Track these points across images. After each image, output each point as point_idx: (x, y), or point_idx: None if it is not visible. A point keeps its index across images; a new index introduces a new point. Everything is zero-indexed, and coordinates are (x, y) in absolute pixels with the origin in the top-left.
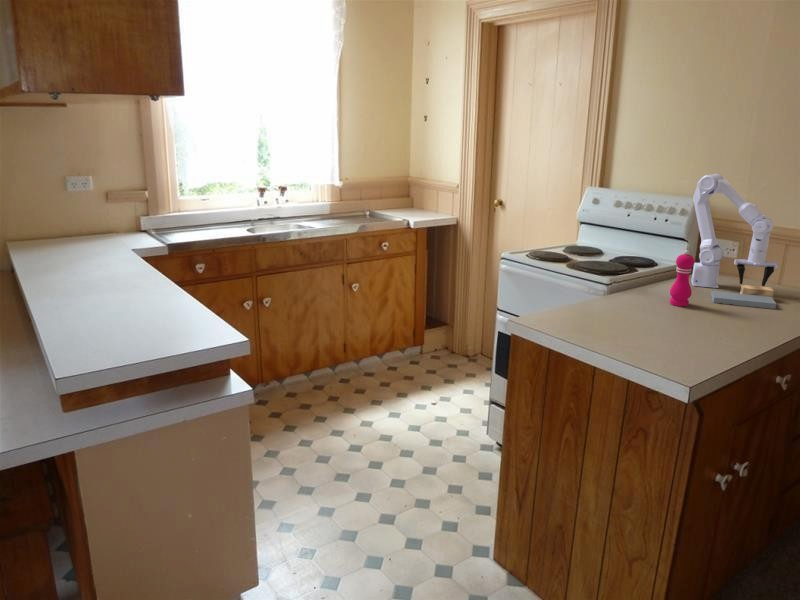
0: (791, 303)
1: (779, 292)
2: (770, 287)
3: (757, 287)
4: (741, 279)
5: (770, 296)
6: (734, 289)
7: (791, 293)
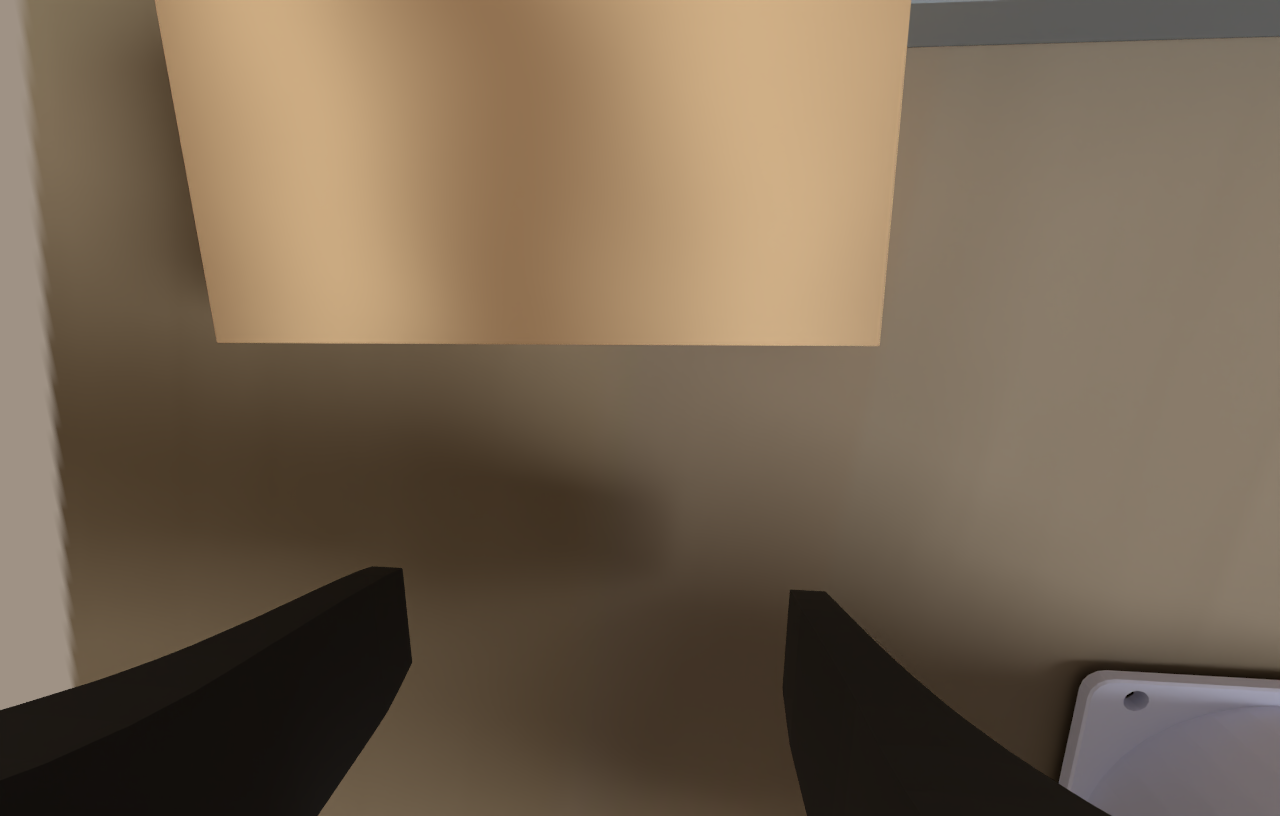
0: (56, 110)
1: None
2: (233, 327)
3: (519, 193)
4: (855, 637)
5: None
6: None
7: None
